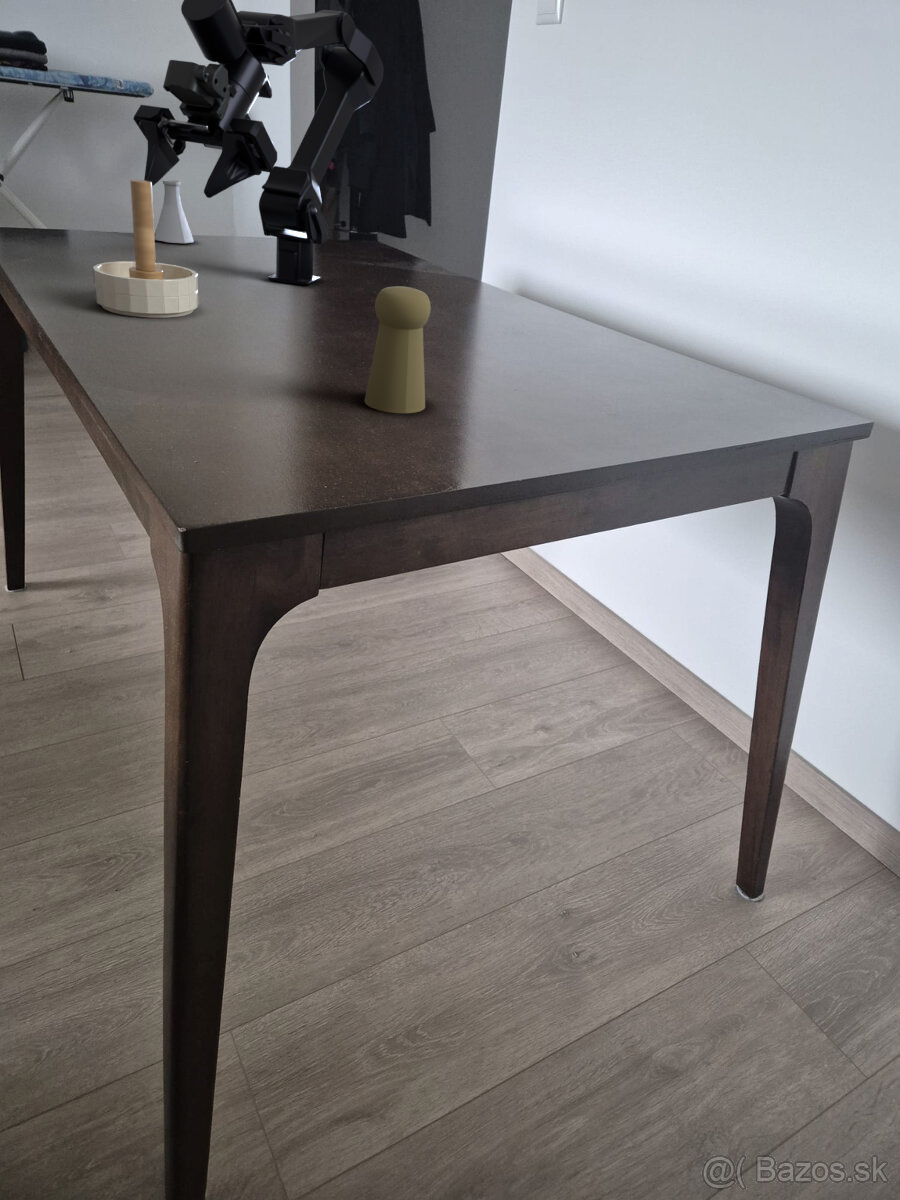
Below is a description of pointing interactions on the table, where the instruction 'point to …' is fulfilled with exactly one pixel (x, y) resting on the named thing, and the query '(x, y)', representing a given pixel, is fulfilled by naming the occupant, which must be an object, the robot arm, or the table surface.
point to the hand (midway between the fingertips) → (176, 189)
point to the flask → (172, 217)
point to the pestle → (143, 232)
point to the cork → (399, 351)
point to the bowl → (146, 290)
